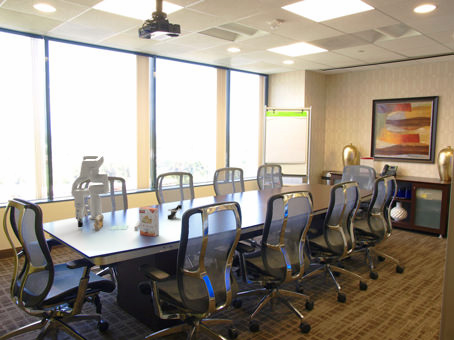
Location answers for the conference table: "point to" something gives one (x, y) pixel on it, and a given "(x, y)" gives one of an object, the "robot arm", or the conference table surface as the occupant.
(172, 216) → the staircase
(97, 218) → the bridge
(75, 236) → the conference table surface
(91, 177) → the robot arm
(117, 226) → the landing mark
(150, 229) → the cracker box
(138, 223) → the stopper
